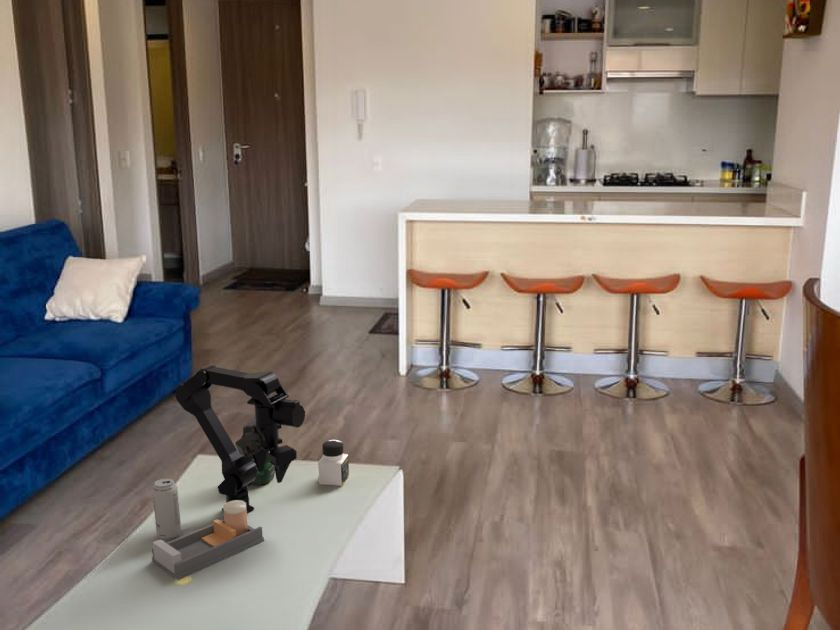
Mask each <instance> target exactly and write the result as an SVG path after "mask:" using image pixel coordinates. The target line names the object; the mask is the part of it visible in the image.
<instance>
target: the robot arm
mask: <svg viewBox="0 0 840 630" xmlns="http://www.w3.org/2000/svg"><path fill="white" fill-rule="evenodd" d="M213 385H215V386H220V387H224V388H230V389H235V390H239V391H242V392H244V394H245V395H247V396H248V397H250V398H249V399H248V400H247V402H246V403H247V405H252V406H254V417H255V421H256V424H255V425H253V427H252V432H249V433H246V434H243V433H242V436H241V437H240V439H237V441H235V444H234V442H233V441H232V439H231V437H230V436H229V434H228V432H227V431H226V429H225V427H224V425H223V424H222V423H221V421H220V419H219V417H218V415H217V414H216V412H215V410H214V408H213V407H212V395H211V392H210V390H209V389H210V388H211V387H212V386H213ZM273 394H275V395H273ZM271 395H273V396H271ZM174 396H175V399H176V401H177V402H178V404H179V405H180V406H181V407H182V409H183V411H185V412H188V413H189V414H191V415H192V416H193V417H195V419H196V421H197V422H198V424H199V426H200V427H201V429H202V431H203V432H204V435H206V438H207V439H208V441H209V442H210V444H211V446H212V447H213V450H214V451H215V453H216V454H217V456H218V458H219V459H220V461H221V475H222V477H223V478H224V480H223V481H222V482H220V483H219V484H218V486H217V490H218V493H219V495H223V496H225V501H226V502H225V503H227V502H230V501H234V500H241V501H244V502H246V509H247V513H249V512H251V511H255V506H253V505H250V496H249V490H248V488H249V487H250V486H252V485H253V482H254V480H255V479H256V476H257V469H256V467H255V466H256V465H257V468H258V470H259V472H262V471H263V470H264V466H265V460H266V454H267V450H268V451H270V453H269V459H270V461H269V462H270V463H271V464H272V465H274V468H275V478H276V483H277V484H281V483H282V482H283V479H284V477H285V476H286V473H287V470H288V468H289V466H290V465H291V463H292V462H293V461H294V460H297V458H298V451H297V450H296V449H295V448H293V447H291V446H289V445H288V444H285V445H282V446H279V445H281V444H283V439H282V438H280V435H279V434H280V433H279V430H280V429H282V428H283V427H282V426H285V427H286V426H287V427H291V428H292V427H293V428H300V427H301V426H302V425H303V424H304V422H305V419H306V410H305V407H304V406H303V405H302V404H301V403H300V400H299V399H289V397H290V396H289V393H288V392H287V390H286V389H285V387H284V385H283V384H282V383H281V382H280V380H279V378H278V376H277V374H276V373H275V372H272V371H259V372H258V371H257V372H253V373H252V372H249V373H248V372H244V371H243V372H242V371H238V370H233V369H228V368H223V367H217V366H216V365H207V366H205V367H202V368H200V369H199V370H198V371H196V373H195V374H194V375H193V376H192V377H190V378H189V379H188V380H187V381H185V382H184V383H181V384H180V385H178V386H177V388H176V390H175V394H174ZM269 396H271V397H269ZM251 455H253V458H254V460H255V463H256V464H255V463H254V462H253V461H252V459H251ZM221 511H222V512H224V509H223V507H222V508H221Z"/></svg>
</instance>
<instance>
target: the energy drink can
mask: <svg viewBox="0 0 840 630" xmlns="http://www.w3.org/2000/svg"><path fill="white" fill-rule="evenodd" d="M153 484H154V486H153V487H152V499H153V500H152V502H153V508H154V509H153V510H154V521H155V522H154V523H155V530H156V531H155V532H156V536H157V537H158V539H159V540H160V539H161V540H162V541H164V542H170V541H172V540H175V539H177V538H179V536H180V534H181V533H182V525H181V524H182V523H181V514H180V513H181V511H180V502H179V491H178V485H177V484H176V482H175V479H174V478H171V477H164V478H159V479H157V480H155V482H154V483H153Z"/></svg>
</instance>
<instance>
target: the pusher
mask: <svg viewBox="0 0 840 630" xmlns="http://www.w3.org/2000/svg"><path fill="white" fill-rule="evenodd" d="M212 524H213V526H214V533H212V534H210V535H208V536H205V537H203V538H202V540H203V541H204V542H206V543H207V544H209V545H211V546H212V547H214V546H216V545H219V544H221V543H223V542H226V541H228V540H230V539H233V538H235V537H236V530H235V529H233V528H231V527H230V526H228V525H226V524H225V523H223V522H221V520H220V519H217V518H216V519H215V520H213V521H212Z"/></svg>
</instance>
